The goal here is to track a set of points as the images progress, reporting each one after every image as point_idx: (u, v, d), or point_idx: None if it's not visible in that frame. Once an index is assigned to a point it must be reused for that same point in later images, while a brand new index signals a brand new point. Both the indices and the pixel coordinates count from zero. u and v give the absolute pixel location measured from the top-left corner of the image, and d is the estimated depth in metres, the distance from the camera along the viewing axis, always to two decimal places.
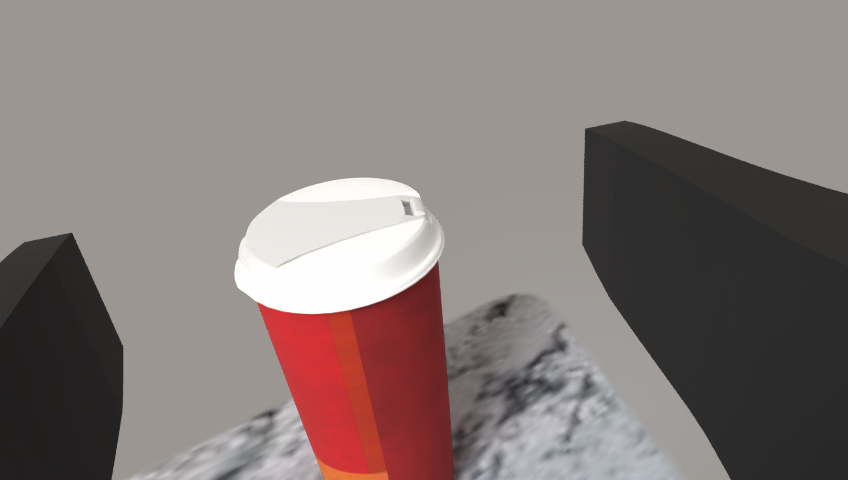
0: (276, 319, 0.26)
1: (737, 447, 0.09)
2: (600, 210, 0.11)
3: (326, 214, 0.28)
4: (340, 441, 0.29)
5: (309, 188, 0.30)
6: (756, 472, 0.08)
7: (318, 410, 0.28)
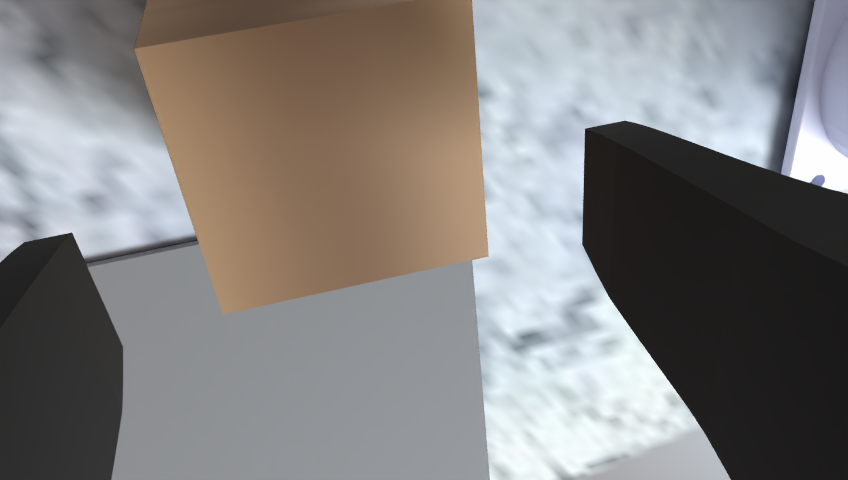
0: None
1: (737, 447, 0.09)
2: (600, 210, 0.11)
3: None
4: None
5: None
6: (756, 472, 0.08)
7: None
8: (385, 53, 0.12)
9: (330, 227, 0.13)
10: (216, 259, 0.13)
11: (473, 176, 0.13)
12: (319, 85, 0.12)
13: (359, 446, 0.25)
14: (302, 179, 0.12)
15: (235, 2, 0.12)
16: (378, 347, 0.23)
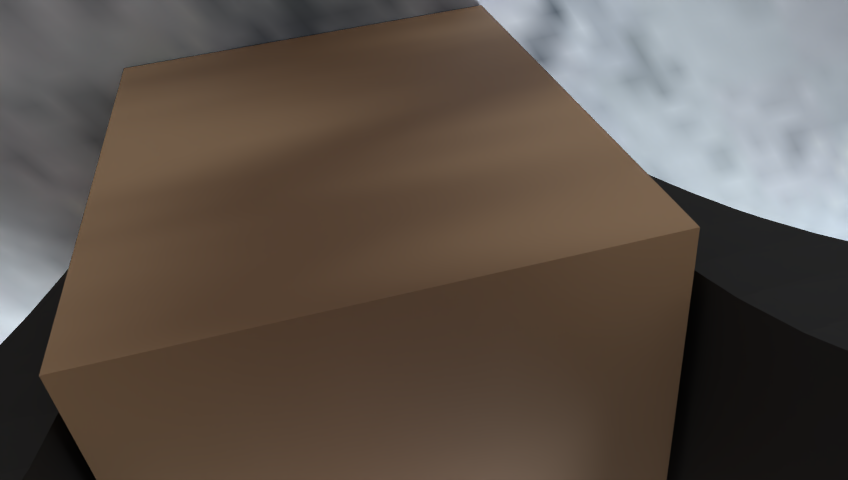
0: None
1: None
2: None
3: None
4: None
5: None
6: None
7: None
8: (528, 335, 0.06)
9: None
10: None
11: None
12: (404, 396, 0.06)
13: None
14: None
15: (243, 222, 0.07)
16: None
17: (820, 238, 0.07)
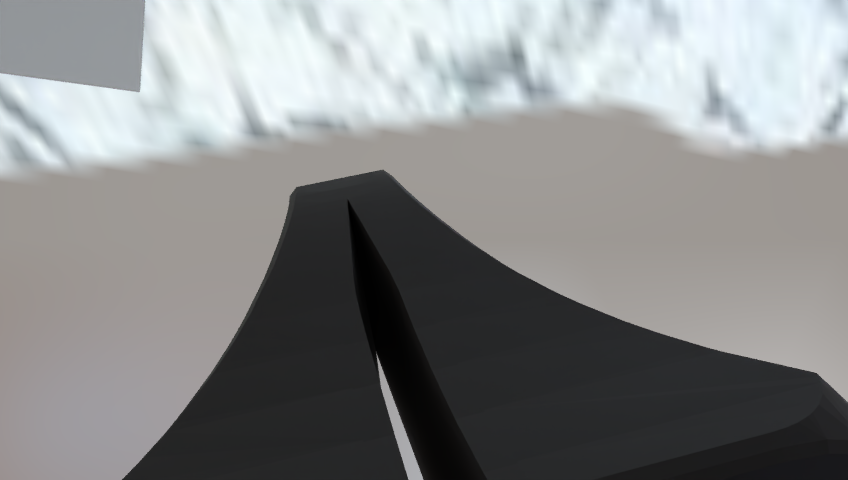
0: None
1: None
2: None
3: None
4: None
5: None
6: None
7: None
8: None
9: None
10: None
11: None
12: None
13: None
14: None
15: None
16: None
17: (557, 299, 0.06)
